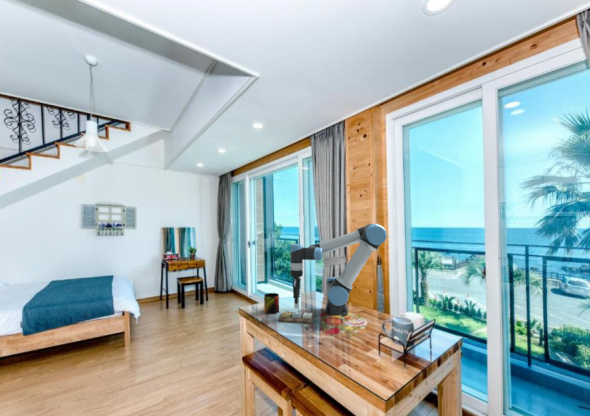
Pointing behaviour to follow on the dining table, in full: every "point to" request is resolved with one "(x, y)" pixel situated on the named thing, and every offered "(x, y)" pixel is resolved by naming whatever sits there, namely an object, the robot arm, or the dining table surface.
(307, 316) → the tile
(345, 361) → the dining table surface
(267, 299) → the mug
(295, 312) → the two-dot tile
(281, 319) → the board
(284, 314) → the tile
